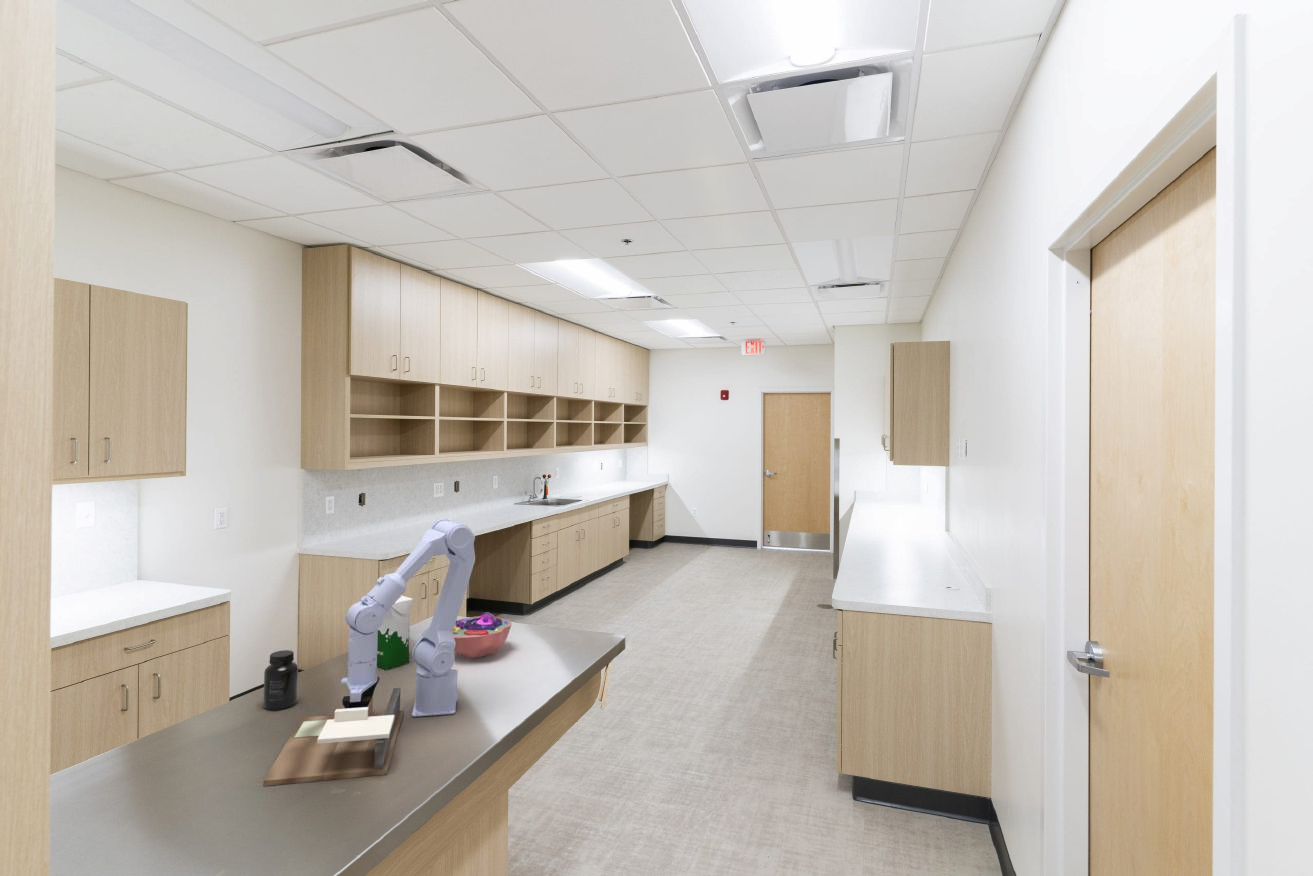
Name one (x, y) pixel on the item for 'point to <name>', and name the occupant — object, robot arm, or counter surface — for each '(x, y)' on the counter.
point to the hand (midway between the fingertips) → (360, 720)
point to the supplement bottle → (280, 681)
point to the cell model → (480, 635)
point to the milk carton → (394, 635)
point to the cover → (355, 726)
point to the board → (334, 752)
